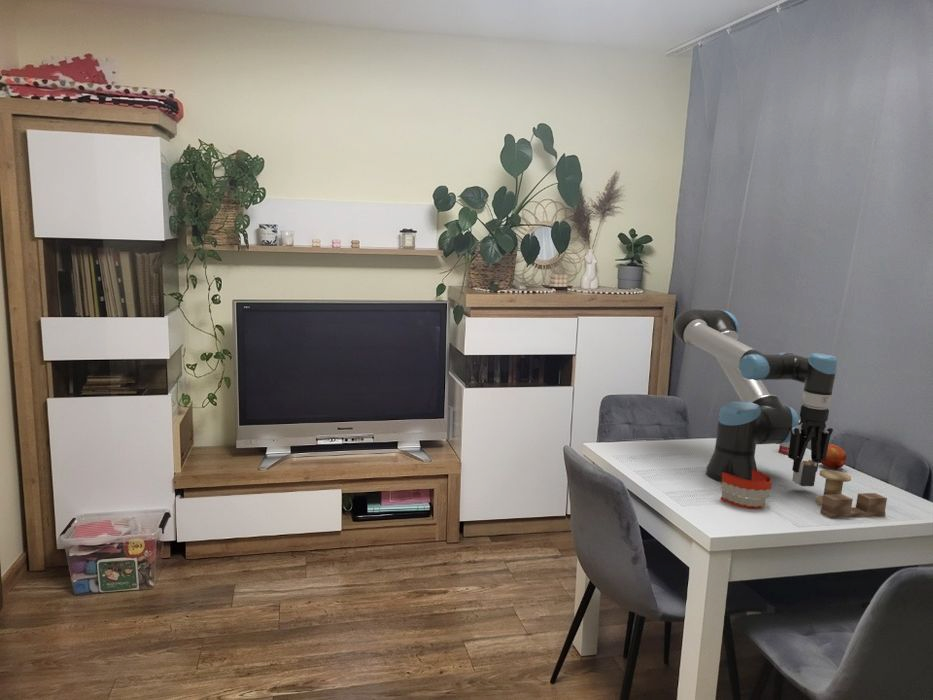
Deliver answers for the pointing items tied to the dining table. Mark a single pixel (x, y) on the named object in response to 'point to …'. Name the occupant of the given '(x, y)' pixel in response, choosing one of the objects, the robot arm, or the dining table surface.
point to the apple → (834, 457)
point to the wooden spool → (832, 483)
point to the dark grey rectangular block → (808, 474)
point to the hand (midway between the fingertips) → (802, 481)
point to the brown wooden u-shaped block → (843, 507)
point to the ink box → (785, 447)
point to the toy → (746, 490)
